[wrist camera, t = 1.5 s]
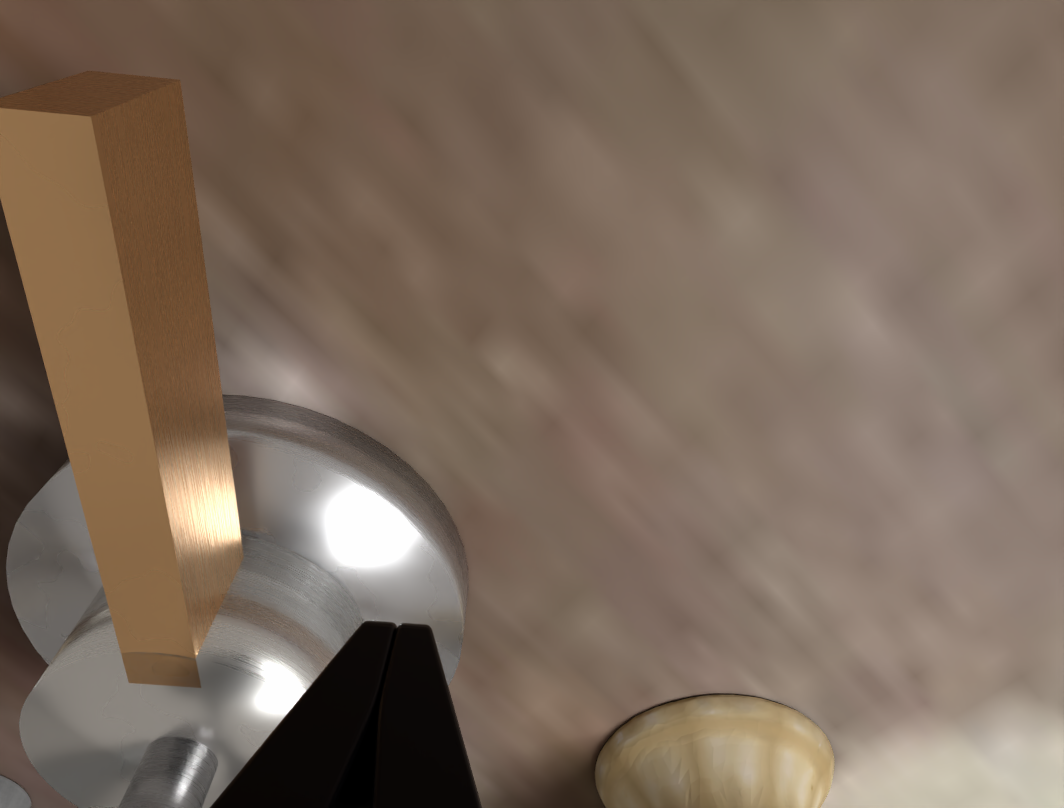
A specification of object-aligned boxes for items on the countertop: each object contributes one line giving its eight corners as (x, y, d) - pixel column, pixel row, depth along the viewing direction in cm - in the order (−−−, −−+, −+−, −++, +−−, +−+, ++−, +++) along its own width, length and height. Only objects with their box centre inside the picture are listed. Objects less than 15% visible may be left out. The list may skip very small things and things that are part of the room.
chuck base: (459, 717, 26) (453, 773, 24) (94, 693, 26) (62, 747, 24) (480, 415, 20) (474, 461, 18) (-2, 375, 19) (-54, 418, 18)
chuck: (370, 725, 23) (301, 1049, 16) (126, 709, 22) (-46, 1031, 16) (355, 88, 14) (182, 236, 7) (-55, 48, 13) (-633, 162, 7)
